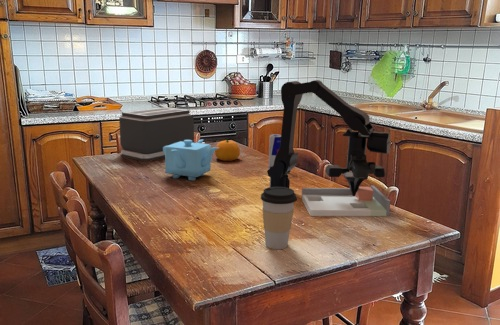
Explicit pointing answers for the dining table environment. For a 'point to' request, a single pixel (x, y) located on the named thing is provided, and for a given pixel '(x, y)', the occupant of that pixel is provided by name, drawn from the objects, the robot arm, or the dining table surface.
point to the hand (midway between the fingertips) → (353, 195)
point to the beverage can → (273, 148)
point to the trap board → (343, 203)
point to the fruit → (227, 150)
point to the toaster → (153, 131)
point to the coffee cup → (277, 215)
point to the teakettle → (188, 159)
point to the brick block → (364, 194)
